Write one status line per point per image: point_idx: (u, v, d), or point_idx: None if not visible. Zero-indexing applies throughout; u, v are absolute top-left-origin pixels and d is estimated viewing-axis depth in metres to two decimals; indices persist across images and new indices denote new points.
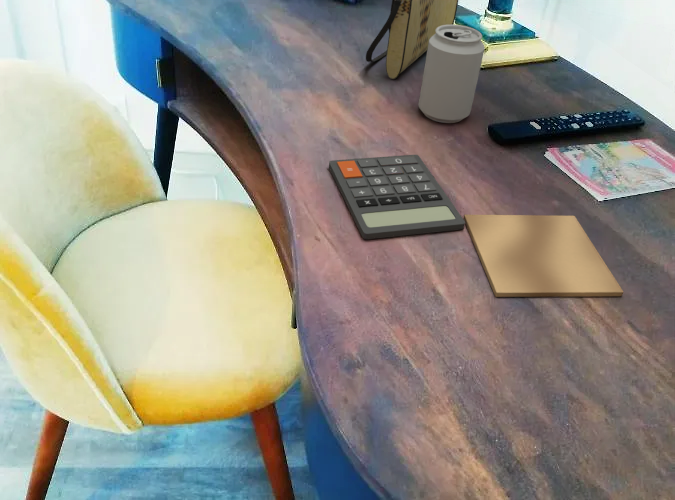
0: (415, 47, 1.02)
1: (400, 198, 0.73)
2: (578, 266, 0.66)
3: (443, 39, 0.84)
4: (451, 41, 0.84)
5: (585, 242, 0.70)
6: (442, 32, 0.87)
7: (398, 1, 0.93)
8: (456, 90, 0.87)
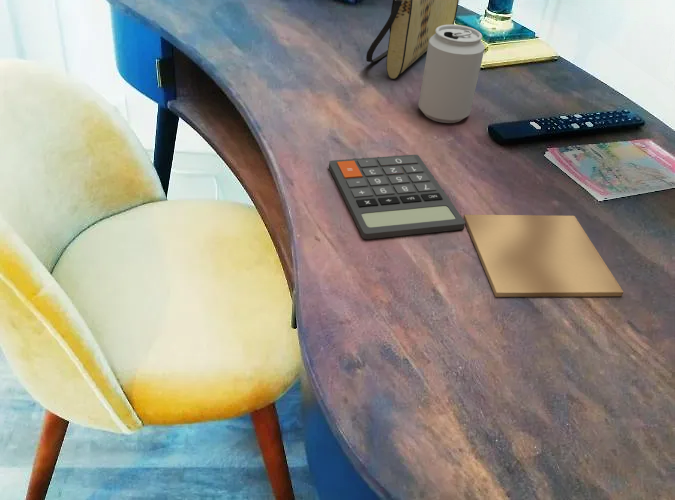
0: (415, 47, 1.02)
1: (400, 198, 0.73)
2: (578, 266, 0.66)
3: (443, 39, 0.84)
4: (451, 41, 0.84)
5: (585, 242, 0.70)
6: (442, 32, 0.87)
7: (399, 1, 0.93)
8: (456, 90, 0.87)
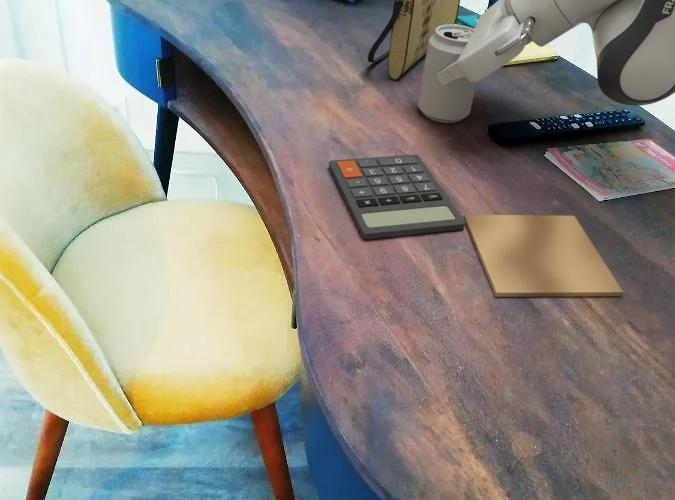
0: (417, 47, 1.02)
1: (400, 198, 0.73)
2: (578, 266, 0.66)
3: (443, 38, 0.84)
4: (451, 41, 0.84)
5: (585, 242, 0.70)
6: (442, 32, 0.87)
7: (400, 2, 0.93)
8: (456, 90, 0.87)
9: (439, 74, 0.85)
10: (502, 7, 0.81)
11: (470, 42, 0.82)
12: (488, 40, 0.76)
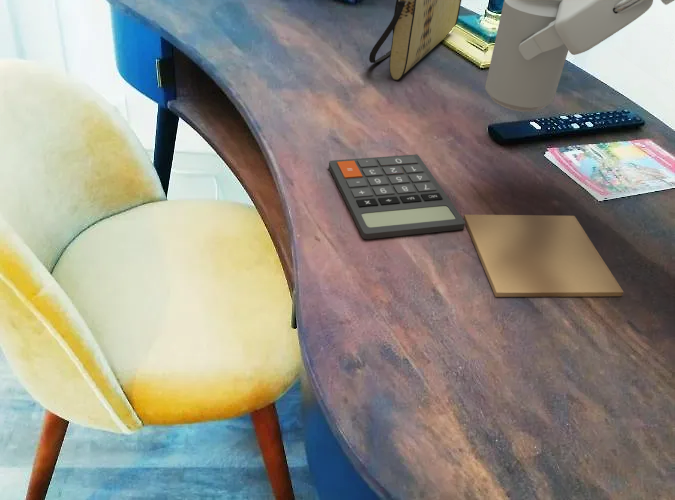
0: (418, 48, 1.02)
1: (400, 198, 0.73)
2: (578, 266, 0.66)
3: None
4: None
5: (585, 242, 0.70)
6: None
7: (402, 2, 0.93)
8: (541, 67, 0.65)
9: (522, 45, 0.63)
10: None
11: None
12: None
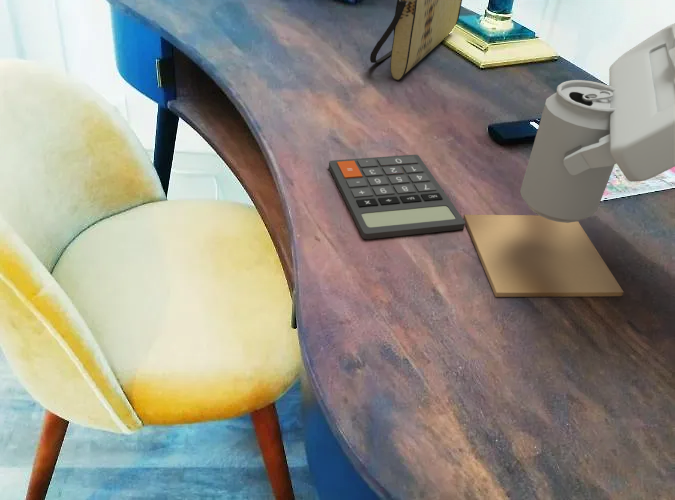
0: (419, 48, 1.02)
1: (400, 198, 0.73)
2: (578, 266, 0.66)
3: (573, 105, 0.55)
4: (586, 109, 0.55)
5: (585, 242, 0.70)
6: (566, 93, 0.58)
7: (403, 2, 0.92)
8: (587, 179, 0.58)
9: (567, 159, 0.56)
10: (674, 61, 0.52)
11: (621, 114, 0.53)
12: (669, 119, 0.47)
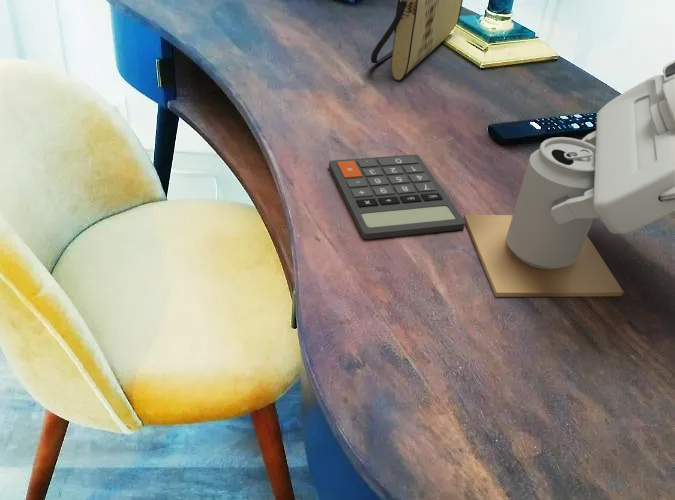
0: (420, 48, 1.02)
1: (400, 198, 0.73)
2: (578, 266, 0.66)
3: (555, 164, 0.59)
4: (567, 169, 0.58)
5: (585, 242, 0.70)
6: (548, 151, 0.61)
7: (404, 2, 0.92)
8: (568, 232, 0.62)
9: (555, 210, 0.59)
10: (655, 118, 0.55)
11: (605, 167, 0.56)
12: (648, 179, 0.50)
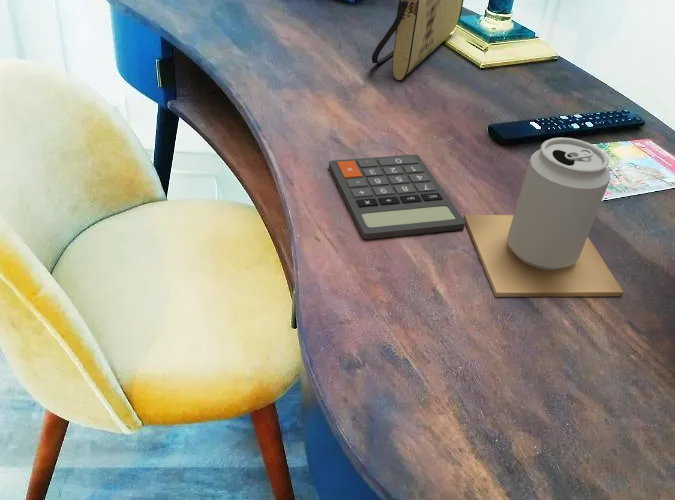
0: (421, 48, 1.02)
1: (400, 198, 0.73)
2: (578, 266, 0.66)
3: (556, 165, 0.59)
4: (569, 170, 0.58)
5: (585, 242, 0.70)
6: (549, 151, 0.61)
7: (405, 3, 0.92)
8: (570, 232, 0.62)
9: None
10: None
11: None
12: None
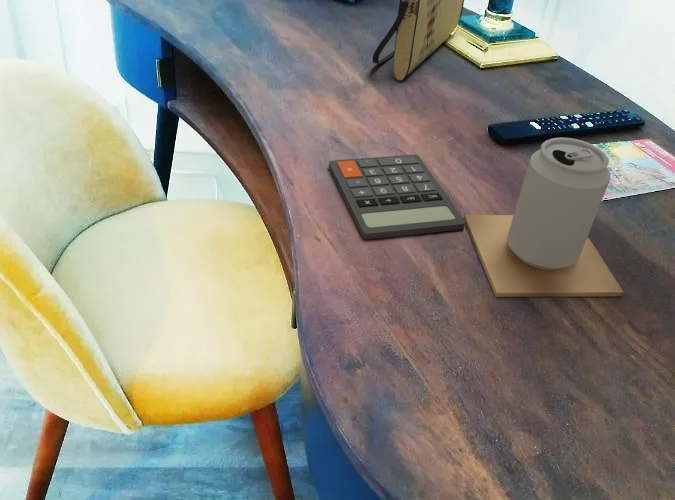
0: (421, 48, 1.02)
1: (400, 198, 0.73)
2: (578, 266, 0.66)
3: (556, 165, 0.59)
4: (569, 170, 0.58)
5: (585, 242, 0.70)
6: (549, 151, 0.61)
7: (406, 3, 0.92)
8: (570, 232, 0.62)
9: None
10: None
11: None
12: None
